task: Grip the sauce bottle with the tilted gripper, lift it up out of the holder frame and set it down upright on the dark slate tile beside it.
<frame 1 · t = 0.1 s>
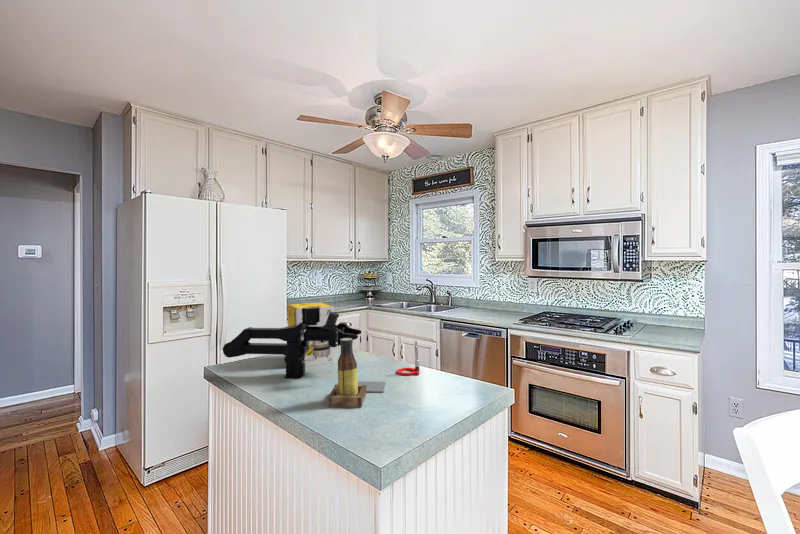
hand: (359, 334, 144), 17 cm above the worktop, tool horizontal, fingers open, 9 cm apart
sauce bottle: (347, 400, 120), resting in holder frame
holder frame: (347, 400, 120), on the worktop
slate tile: (370, 387, 132), on the worktop
packaging box: (310, 361, 167), on the worktop
tow hook: (407, 373, 149), on the worktop
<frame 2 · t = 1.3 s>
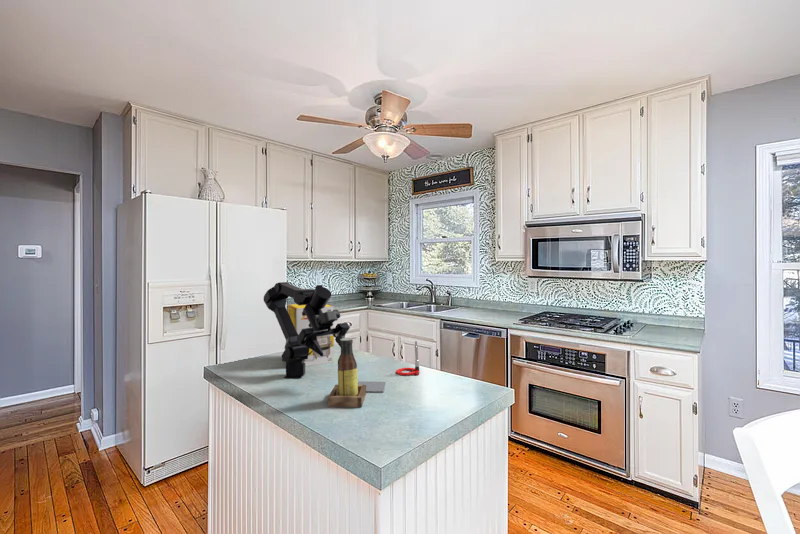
hand: (334, 352, 126), 14 cm above the worktop, tool tilted 45°, fingers open, 9 cm apart
nothing on the worktop moved.
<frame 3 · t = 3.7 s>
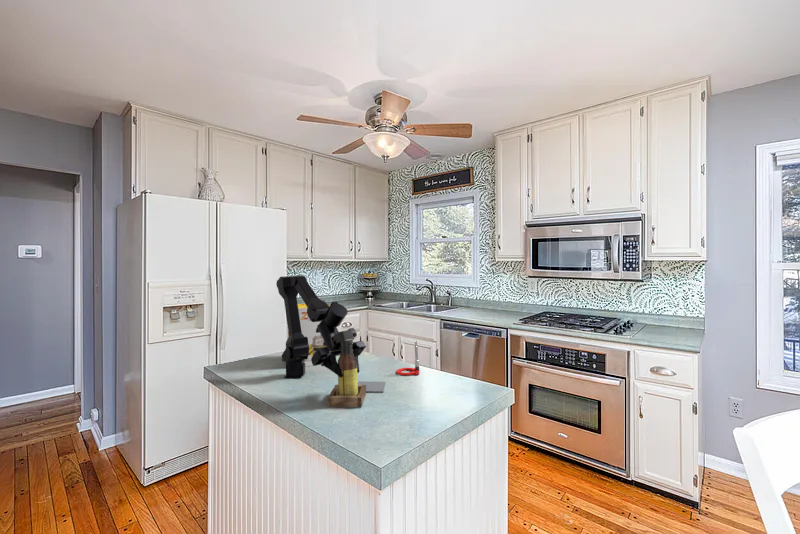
hand: (350, 374, 119), 9 cm above the worktop, tool tilted 45°, fingers closed on sauce bottle, 6 cm apart
sauce bottle: (347, 400, 120), resting in holder frame, touching gripper
everything else where it was.
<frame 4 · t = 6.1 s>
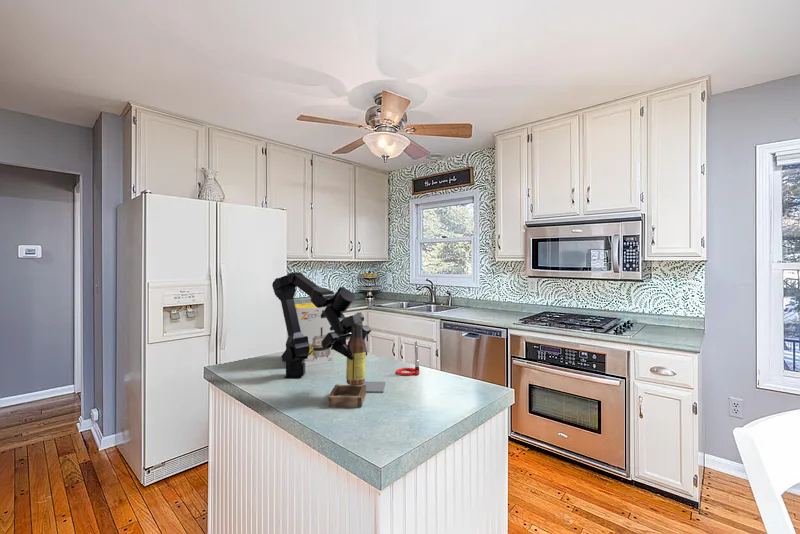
hand: (359, 357, 122), 13 cm above the worktop, tool tilted 45°, fingers closed on sauce bottle, 6 cm apart
sauce bottle: (354, 384, 123), point 4 cm above the worktop, touching gripper
everything else where it was.
when the fingers open (10 cm above the worktop, at t = 8.3 s): sauce bottle stays where it is, resting on slate tile.
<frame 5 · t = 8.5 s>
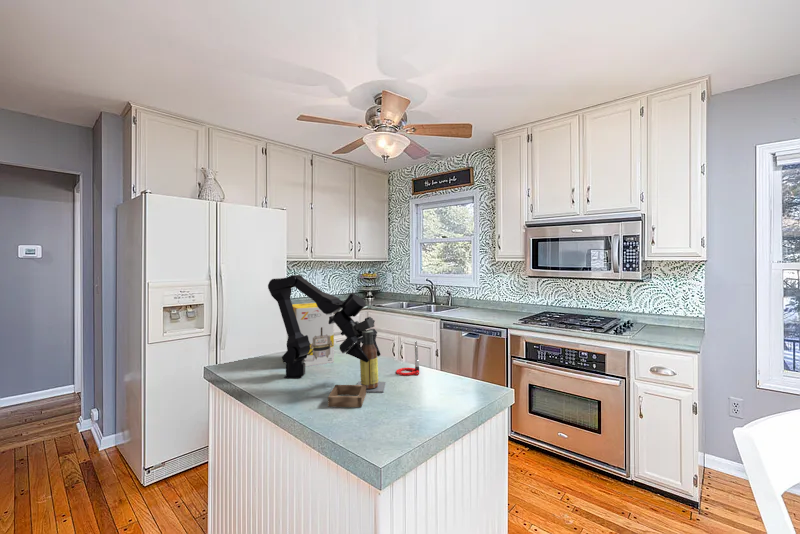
hand: (374, 358, 131), 11 cm above the worktop, tool tilted 45°, fingers open, 9 cm apart
sauce bottle: (369, 387, 131), resting on slate tile
everything else where it was.
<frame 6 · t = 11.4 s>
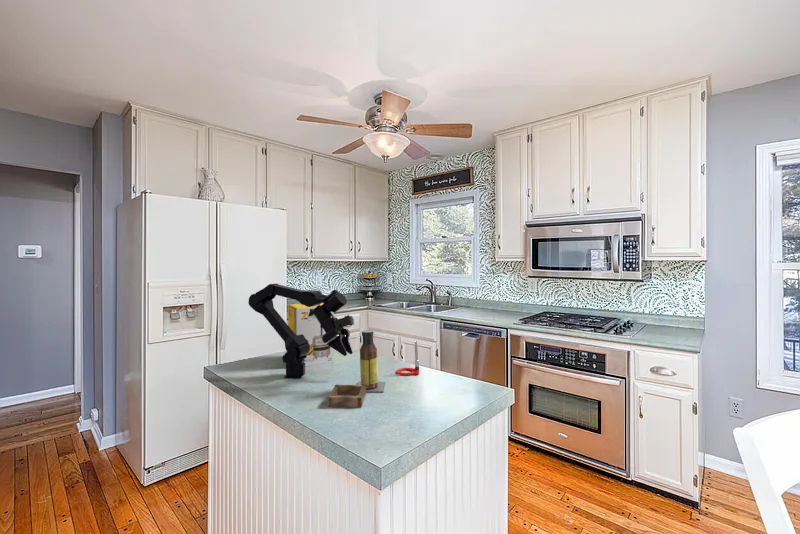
hand: (348, 354, 137), 10 cm above the worktop, tool tilted 35°, fingers open, 9 cm apart
nothing on the worktop moved.
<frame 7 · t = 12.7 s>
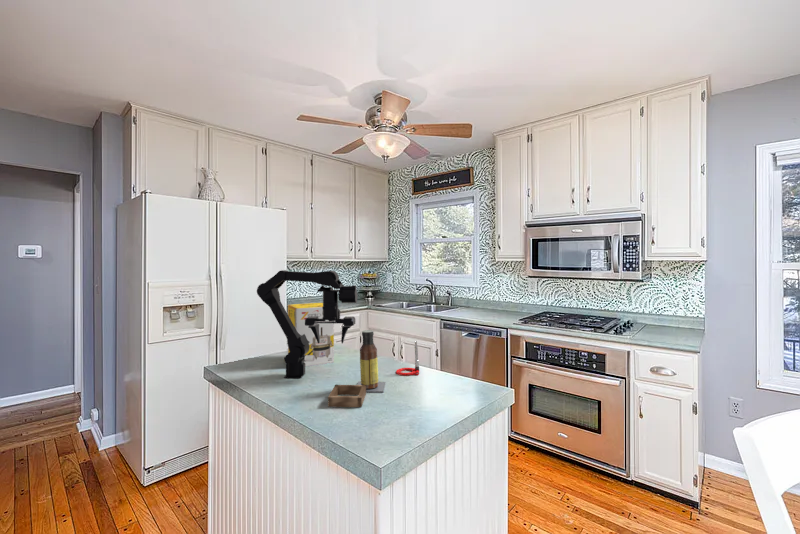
hand: (330, 343, 144), 13 cm above the worktop, tool pointing down, fingers open, 9 cm apart
nothing on the worktop moved.
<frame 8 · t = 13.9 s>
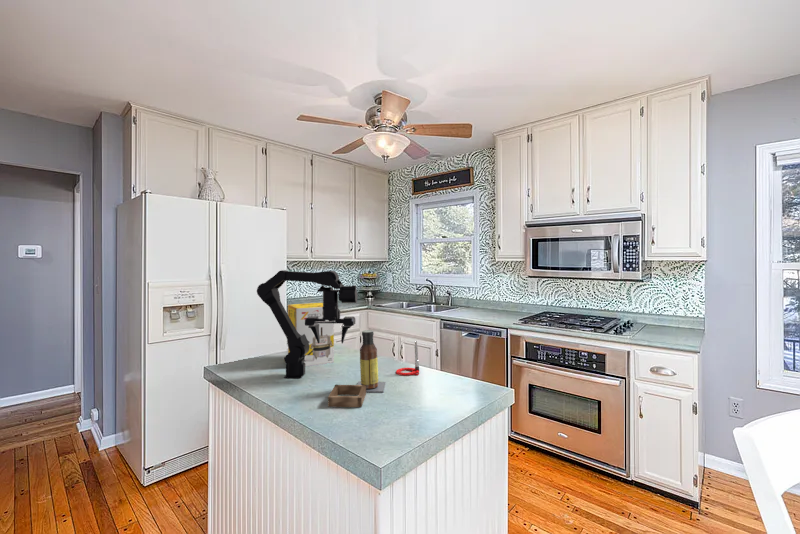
hand: (330, 343, 144), 13 cm above the worktop, tool pointing down, fingers open, 9 cm apart
nothing on the worktop moved.
at the end: sauce bottle inside the target area on the slate tile (0.9 cm from its centre), point 0.3 cm above the slate tile's base; sauce bottle tilted 0°; the gripper is holding nothing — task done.
